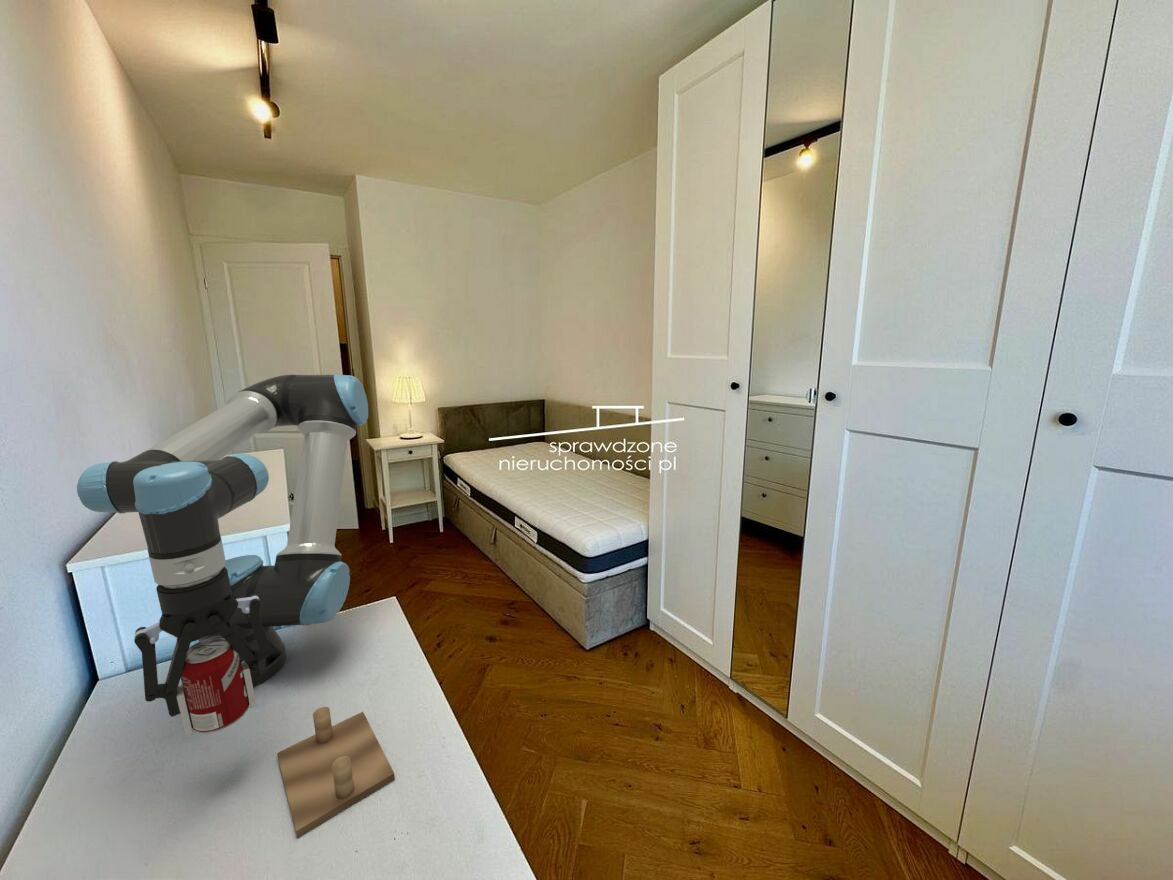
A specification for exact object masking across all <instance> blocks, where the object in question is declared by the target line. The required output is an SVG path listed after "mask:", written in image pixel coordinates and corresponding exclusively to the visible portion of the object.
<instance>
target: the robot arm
mask: <svg viewBox="0 0 1173 880" xmlns="http://www.w3.org/2000/svg"><path fill="white" fill-rule="evenodd" d="M368 419H369V402H368V398H367V394H366V391H365V389H364V386H363V384H362V383H361V381H360V380H359V379H358V378H357V377H356V376H353V375H348V374H347V375H346V374H337V373H334V374H284V375H283V374H282V375H278V376H274V377H270V378H267V379H265V380H264V379H263V380H261V381H259V382H257V383H254V384H252V385H248V387H245V388H243V389H241V390H239V391H237V392H236V393H234V394H232V395H231V396H230V397H229V399H228V400H227V402H226V404H225V405H223V406H222V407H220V408H218V409H217V410H215V411H213V412H211V413H209V414H208V415H206V416H204V417H203V418H201V419H199V420H197V421H196V422H194V423H192V424H191V425H188V426H187V427H185V428H182V429H181V430H179V431H178V432H176V433H175V434H173V435H171V436H169V437H168V438H165V439H164V440H162V441H161V442H159V443H157V444H155V445H153V446H152V447H150V448H148V449H146V450H144V451H143V452H141V453H138V455H136V456H133V457H132V458H130V459H128V460H126V461H122V462H121V461H118V460H117V461H116V460H113V461H109V462H100V463H96V464H93V465H90V466H89V467H88V468H86V469H85V470H84V471H83V472H82V473H81V475H80V477H79V478H78V480H77V484H76V493H77V497H78V498H79V500H80V503H82V505H83V506H84V507H85V508H87V509H88V510H89V511H93V512H96V513H118V514H120V515H121V514H126V513H127V514H128V513H138V516H139V519H140V523H141V526H142V530H143V531H142V532H143V536H144V538H145V542H146V546H147V553H148V559H149V563H150V567H151V571H152V577H153V581H154V583H155V584H157V586H156V588H155V589H156V594H157V599H158V602H159V608H160V610H161V611H160V612H161V617H160V618H159V621H158V622H156V623H154V624H151V625H149V626H147V627H146V626H140V627H138V628H137V629H136V630H135V633H134V644H135V646H137V648H138V649H139V651H140V652H141V659H142V661H141V662H142V672H143V674H142V676H143V686H144V699H145V702H153V701H155V700H156V699H164V700H165V703H166V706H167V712H168V715H169V716H170V717H176V716H177V715H180V719H181V722H182V726H183V730H184V734H185V737H187V736H189V735H192V734H193V732H194V730H193V728H192V724H191V720H190V716H189V711H188V707H187V703H186V698H185V694H184V690H183V685H182V683H181V684H179V683H180V680H181V673H182V670H183V666H184V663H185V659H186V655H187V652H188V650H189V648H190V647H191V643H193V642H196V641H198V642H200V641H202V640H205V639H208V638H211V637H216V636H222V637H223V638H225V639H226V641H227V642H228V643H229V644H230V645H231V646H232V647H233V649H234V650H235V651H236V652H237V653H238V654H239V656H240V657H241V661H242V667H243V673H244V678H245V683H246V688H247V693H248V699H249V708H250V709H253V708H254V707H257V700H256V697H255V692H254V687H257V686H258V685H260V684H262V683H264V682H265V681H267V680H269V679H270V678H272V677H273V676H274V675H275V674H277V673H278V671H280V670H281V669H282V667H283V666H284V665H285V663H286V661H287V656H288V655H287V650H286V645H285V642H284V641H283V640H282V638H281V637H280V635H279V634H278V632H277V630H276V629H275V627H288V626H289V627H291V626H311V625H313V624H322V623H323V624H324V623H327V622H329V621H331V620H333V618H335V617H336V616H337V615H338V614H339V612H340V611H341V609H342V607H344V606H343V605H344V603H345V601H346V599H347V596H348V593H349V588H350V583H351V582H350V581H351V575H350V573H351V572H350V567H349V565H348V564H347V563H345V562H343V561H342V553H341V552H340V551H339V550H338V549H337V548H336V546H335V544H336V536H337V528H338V522H339V521H338V520H339V514H340V513H339V512H340V504H341V498H342V497H341V495H342V488H343V481H344V473H345V463H346V455H347V449H348V442H349V440H351V439H352V438H354V437H355V436H356V434H357V427H359V426H365V424H366V423H367V422H368ZM286 426H287V427H288V426H289V427H290V426H292V427H293V426H297V427H296V428H297V430H298V431H299V432H300V434H301V435H302V436H303V441H302V446H301V447H302V448H301V453H300V461H299V466H298V473H297V479H296V486H295V492H294V498H293V503H292V505H293V506H292V510H291V515H290V516H291V517H290V523H289V528H288V529H289V530H288V536H287V543H286V546H285V547H284V548H283V549H282V550H280V551H279V552H278V553H276V555H275V562H274V565H264V560H263V559H262V558H261V557H262V556H261V557H260V556H258V555H257V554H248V555H247V554H245V555H240V556H236V557H235V556H234V557H232V558H229V559H226V556H225V555H226V554H225V550H224V549H225V548H224V544H223V540H222V536H221V532H220V524H219V519H221V518H222V517H224V516H225V515H227V514H229V513H230V512H231V513H232V512H233V511H235V510H236V509H239V508H240V507H242V506H243V505H245V504H247V503H250V502H252V501H253V500H254V499H255V498H256V497H257V496H258V495H260V494H261V493H263V492H264V491H265V489H266V488H267V486H268V484H269V481H270V480H269V479H270V475H269V474H270V473H269V471H268V469H267V467H266V465H265V463H264V462H262V460H261V459H259V458H258V457H256V456H254V455H251V454H246V453H237V454H233V455H229V454H230V453H231V452H232V451H235V449H237V448H238V447H240V446H241V445H242V444H244V443H246V441H248V440H250V439H251V438H252V437H254V436H255V435H256V434H264V433H267V432H268V431H271V430H272V429H274V428H278V427H286ZM161 632H165V633H167V634H168V635H170V636H173V637H174V638H176V642H175V646H174V650H173V654H172V658H171V661H170V665H169V668H168V672H167V675H166V679H165V681H164V683H159V681H158V668H157V667H158V665H157V651H156V643H157V642H158V641H159V639H160V633H161Z"/></svg>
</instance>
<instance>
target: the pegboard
mask: <svg viewBox="0 0 1173 880" xmlns="http://www.w3.org/2000/svg"><path fill="white" fill-rule="evenodd" d="M312 718H313V726H314V732H315V733H314V734H313V735H311V736H309V737H307V738H305V739H303V740H301V741H299V742H298V741H297V742H296V743H295V744H292V745H290V746H289V747H286V748H284V749H282V750H280V751H278V752H276V755H277V763H278V765H279V766H278V767H279V769H280V773H281V777H282V781H283V786H284V790H285V793H286V798H287V802H288V807H289V810H290V811H289V812H290V816H291V818H292V819H291V820H292V822H293V826H294V830H295V835H296V839H298V838H300V837H302V836H304V835H305V834H307V833H309V831H312V830H314V829H315V828H317V827H318V826H321V825H322V824H323V823H325V822H327V821H329V820H330V819H331V818H333V817H334V816H337V815H338V814H340V813H342V812H344V811H345V810H346V809H349V808H350V807H352V806H353V805H355V804H357V803H358V802H361V801H362V800H363V799H365V798H367V797H368V796H370V795H372V794H374V793H375V792H377V791H379V790H380V789H382V788H384V787H385V786H387V785H389V784H390V783H392V782H394V781H395V780H396V778H395V777H396V776H395V772H394V770H393V768H392V766H391V764H390V762H389V761H388V759H387V756H386V754H385V752H384V750H383V748H382V746H381V744H380V743H379V740H378V738H377V737H376V733H375V731H373V729H372V726H371V725H370V722H369V721H368V718H367V717H366V714H365V713H364V711H361V712H359V713H357V714H355V715H352V716H350V717H349V718H346V719H344V720H343V721H340V722H338V723H336V724H334V725H332V717H331V709H330V707H328V706H321V707H319V708H317V709H316V710H315V711H314V712H313V713H312Z"/></svg>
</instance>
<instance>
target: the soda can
mask: <svg viewBox="0 0 1173 880" xmlns="http://www.w3.org/2000/svg"><path fill="white" fill-rule="evenodd" d="M180 680H181V684H182V685H183V690H184V694H185V698H186V703H187V707H188V711H189V716H190V720H191V724H192V729H193V732H196V733H198V734H211V733H215V732H218V731H221V730H223V729H227V728H228V727H229V726H231V725H233V724H235V723H236V722H237V721H239V720H240V719H241V718H242V717H243V716H244V715H245V714H246V713H247V711H248V710H249V708H250V704H249V699H248V693H247V688H246V683H245V678H244V673H243V667H242V661H241V657H240V656H239V654H238V653H237V652H236V651H235V650H234V649H233V647H232V646H231V645H230V644H229V643H228V642H227V641H226V639H225V638H223V637H222V636H216V637H211V638H208V639H205V640H202V641H200V642H199V641H198V642H196V643H194V644H192V645H190V647H189V650H188V652H187V655H186V659H185V663H184V666H183V670H182V673H181V677H180Z"/></svg>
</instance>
